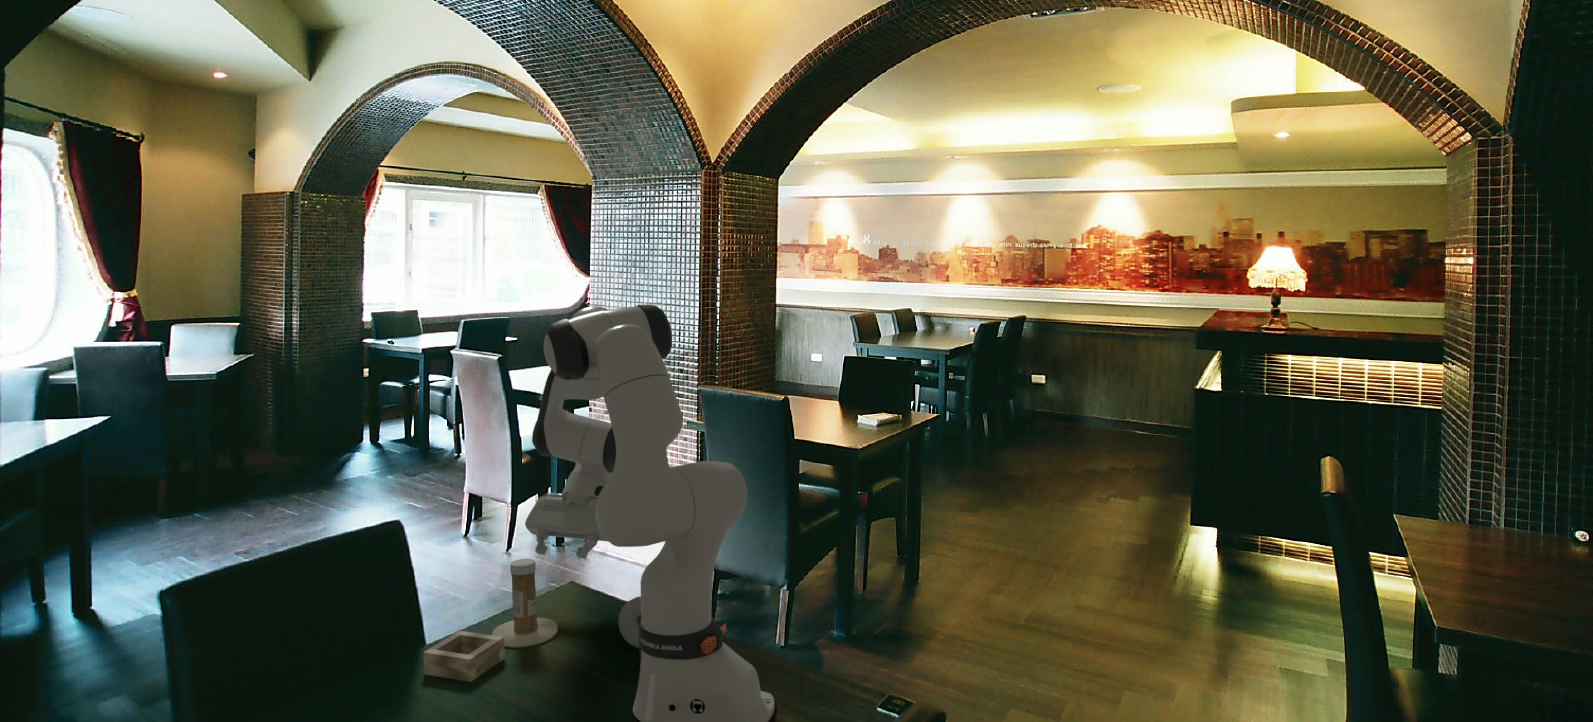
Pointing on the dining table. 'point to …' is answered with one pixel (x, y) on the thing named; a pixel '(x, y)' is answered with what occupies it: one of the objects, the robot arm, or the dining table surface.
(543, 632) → the white domed disc
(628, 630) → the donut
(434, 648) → the holder collar
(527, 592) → the sprinkles bottle
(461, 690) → the dining table surface
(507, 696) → the dining table surface
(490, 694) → the dining table surface
